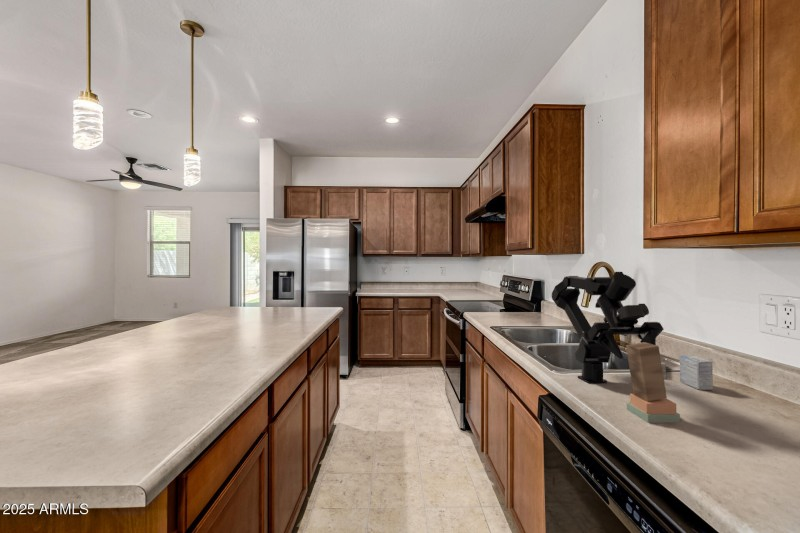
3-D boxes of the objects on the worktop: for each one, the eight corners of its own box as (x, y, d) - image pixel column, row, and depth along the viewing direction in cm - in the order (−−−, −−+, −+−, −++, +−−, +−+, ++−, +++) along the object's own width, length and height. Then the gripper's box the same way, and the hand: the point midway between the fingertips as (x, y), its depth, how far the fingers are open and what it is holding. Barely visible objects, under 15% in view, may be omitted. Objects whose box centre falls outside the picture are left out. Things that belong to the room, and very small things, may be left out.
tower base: (626, 412, 97) (626, 402, 97) (656, 411, 98) (656, 401, 98) (647, 425, 89) (647, 415, 89) (680, 424, 90) (680, 414, 90)
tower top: (630, 403, 97) (630, 393, 97) (657, 403, 97) (657, 393, 97) (646, 413, 90) (646, 403, 90) (676, 414, 90) (676, 403, 90)
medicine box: (713, 390, 111) (713, 361, 111) (698, 390, 111) (698, 361, 111) (693, 381, 119) (693, 355, 119) (679, 381, 119) (679, 355, 119)
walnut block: (633, 394, 96) (625, 345, 96) (652, 391, 96) (644, 342, 97) (647, 401, 91) (639, 349, 91) (666, 398, 91) (658, 345, 92)
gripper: (593, 293, 103) (617, 342, 92) (659, 293, 104) (690, 341, 93) (578, 317, 111) (599, 364, 100) (639, 316, 112) (666, 363, 101)
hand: (638, 358), depth 99 cm, fingers open, 9 cm apart
